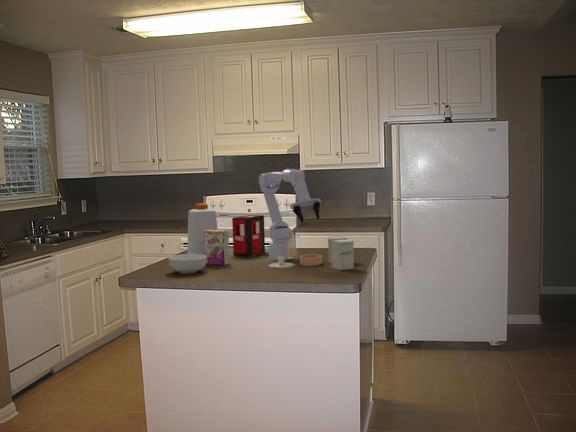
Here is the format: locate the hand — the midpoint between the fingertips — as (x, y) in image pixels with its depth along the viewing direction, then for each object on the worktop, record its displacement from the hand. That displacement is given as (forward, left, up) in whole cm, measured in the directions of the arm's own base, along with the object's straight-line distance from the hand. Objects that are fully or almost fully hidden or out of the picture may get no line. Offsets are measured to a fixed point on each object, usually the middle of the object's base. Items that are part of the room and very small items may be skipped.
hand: (310, 220), depth 261 cm
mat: (-13, -6, -22) cm, 26 cm away
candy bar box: (-44, -16, -22) cm, 51 cm away
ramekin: (-4, +5, -22) cm, 22 cm away
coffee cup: (+4, +16, -22) cm, 27 cm away
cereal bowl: (-42, -37, -22) cm, 60 cm away
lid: (-13, -6, -21) cm, 25 cm away
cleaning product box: (-50, +15, -22) cm, 56 cm away
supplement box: (+14, +4, -22) cm, 26 cm away
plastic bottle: (-62, -7, -22) cm, 66 cm away
